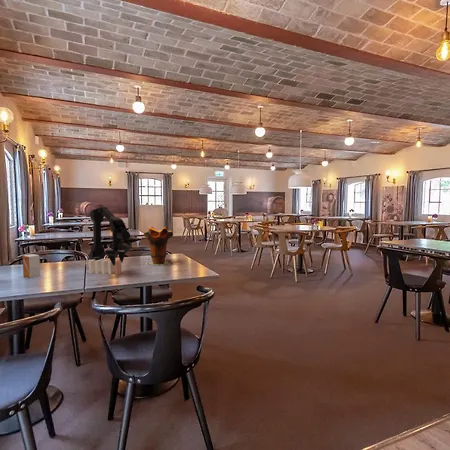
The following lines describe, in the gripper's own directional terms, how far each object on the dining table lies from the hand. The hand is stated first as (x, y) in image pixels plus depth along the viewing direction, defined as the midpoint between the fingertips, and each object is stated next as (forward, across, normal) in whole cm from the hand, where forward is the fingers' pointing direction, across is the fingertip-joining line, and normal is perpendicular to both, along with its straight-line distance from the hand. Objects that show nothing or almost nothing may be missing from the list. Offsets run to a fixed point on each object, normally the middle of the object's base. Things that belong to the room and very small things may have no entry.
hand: (117, 263), depth 199 cm
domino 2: (+6, 0, +14) cm, 15 cm away
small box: (+6, -16, +48) cm, 51 cm away
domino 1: (+6, 0, +18) cm, 19 cm away
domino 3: (+6, 0, +9) cm, 11 cm away
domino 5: (+6, 0, 0) cm, 6 cm away
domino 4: (+6, 0, +5) cm, 8 cm away
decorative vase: (+6, +36, -12) cm, 38 cm away
